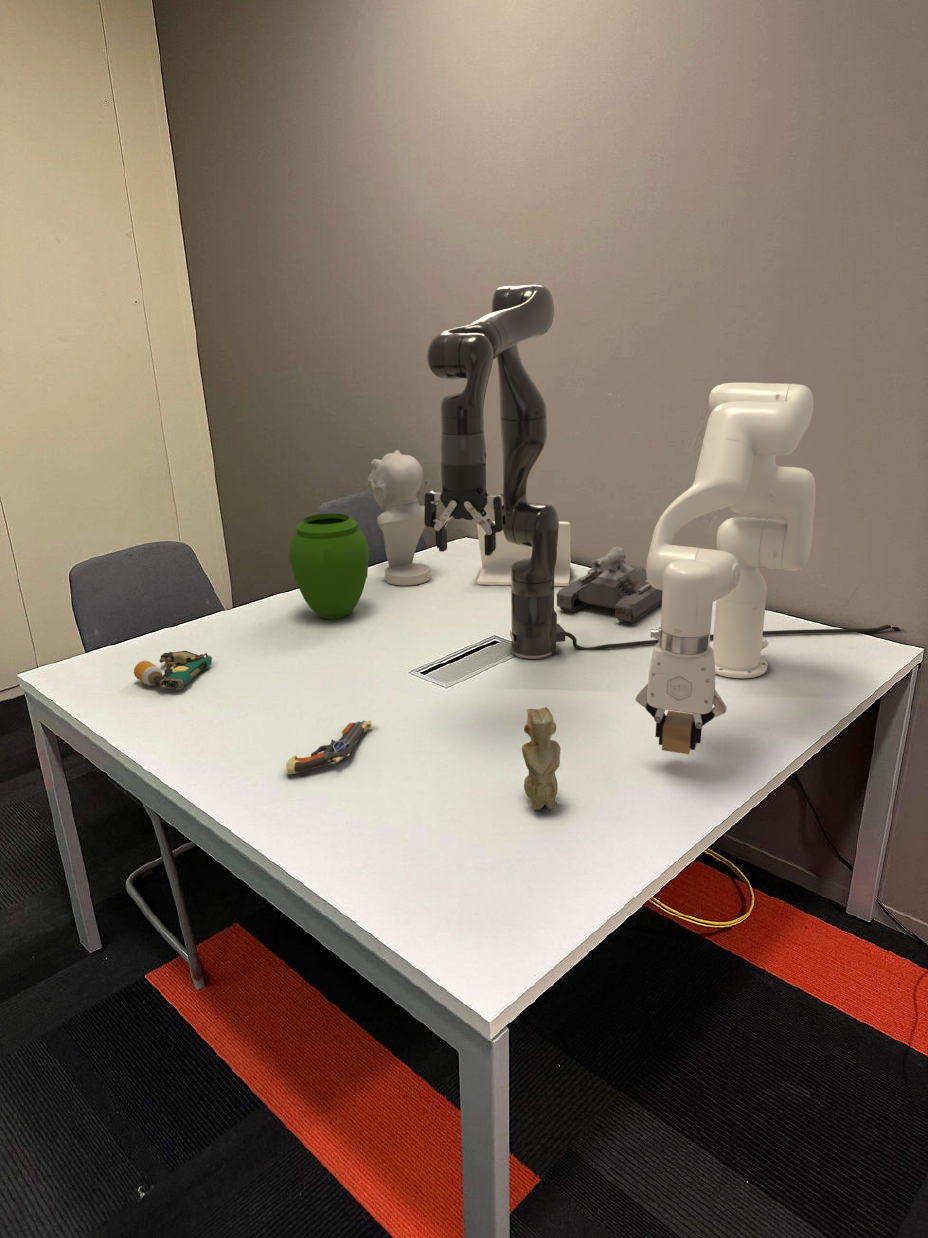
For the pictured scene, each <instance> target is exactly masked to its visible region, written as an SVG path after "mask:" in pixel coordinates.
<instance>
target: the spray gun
mask: <svg viewBox="0 0 928 1238" xmlns="http://www.w3.org/2000/svg"><path fill="white" fill-rule="evenodd" d="M212 660H213V657H212V656H211V655H208V653H207V652H205V653H201V654H197V653H194V652H192V651H191V652H190V651H188V650H180V651H169V652H164V653H162V654H161V655H160V658H159V660H158V662H159V663H161V664H163V663H165V664H166V668H165V670H163V672H164V674H163V673H162V669H160V668H159V666H157V665H156V664H154V663H152V662H151V661H149V660H141V661H139V662H138V663H136V665H135V666H134V668H133V675H134V677H135V678H136V679H137V680H139V681H140V682H142V683H143V684H145V685H147V686H155V685H157V686H158V687H160V688H161V689H171V690H172V689H173V690H182V689H184V687H185V686H186V685H188V684H189V683H190V682H191V681H192V679H193V678H195V677H196V676H197V675H198V674H200V673H201V672H202V671H203V670H206V669H208V668H209V667H210V666H211V665H212V662H213V661H212ZM178 663H179V664H181V665H179V666H176V665H177V664H178Z"/></svg>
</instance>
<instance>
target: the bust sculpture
mask: <svg viewBox="0 0 928 1238" xmlns="http://www.w3.org/2000/svg"><path fill="white" fill-rule="evenodd" d="M370 463H371V467H372V470H371V473H370V474H369V475H368V479H367V483H366V484H367V486H371V490H372V492H373V499H374V501H375V503H376V504H377V505H378V507H379V508H380V510H381V511H382V512H381V513H380V514H379V515H378V516H377V518H376V523H377V525H378V528H379V529H380V531H381V532H382V534H383V535H382V536H383V542H384V550H385V554H386V559H387V564H388V566H387V567H386V568H385V569H384V579H385V582H387V583H388V584H391V585H394V586H395V585H396V586H416V585H420V584H424V583H426V582H428V581H430V580H431V577H432V576H431V566H429V565H427V564H425V563H421V562H420V563H419V562H414V557H415V555H416V554H415V553H416V550H417V546H418V544H419V541H420V538H421V536H422V533H423V531H424V530H425V528H426V526H425V524H424V515H425V505H420V503H419V500H418V497H417V493H418V492H419V490H420V489H421V486H422V482H423V479H424V471H423V467H422V465H421V463H420V462H419V461H418V460H417V459H416V458H415V457H414V456H412V455H409V454H402V453H401V451H400V450H398V449H397V450H394V452H392V453H390V452H389V453H386V454H385V455H383V457H382V458H381V459H376V458H373V459H372V460H371V462H370Z"/></svg>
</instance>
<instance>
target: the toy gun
mask: <svg viewBox="0 0 928 1238" xmlns="http://www.w3.org/2000/svg"><path fill="white" fill-rule="evenodd" d="M372 726H373V723H372V721H371V720H362V721H359V720H357V722H349V723H348V724H347V725H346V726H345V728H344V729H343V730H342V731H341V734H342V736H341V737H340V738H339V739H338V740H335V739H331V740H330V743H329V744H323V745H320V746H319V747H317V749H316V750H314V751H313V752H312V753H311V754H310V756H307V757H298V756H297V754H295V755H293V756H292V757H290V758H289V759H288V760H287V762H286V766H285V767H286V771H287V774H288V775H295V774H299V773H303V772H307V771H309V770H313V769H317V768H320V767H324V766H326V765H330V764H331V763H336V764H337V763H339V762H340V761H342V760H344V758H346V757H349V756H350V755H351V753H352V752H353V751H354V749H355V748H356V747H357V746H356V745H357V742H358V741H359V740H360V738H361V737H362V736H363V734H364V733H366V732H367V730H369V729H370V728H372Z"/></svg>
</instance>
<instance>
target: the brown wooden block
mask: <svg viewBox="0 0 928 1238" xmlns="http://www.w3.org/2000/svg"><path fill="white" fill-rule="evenodd" d="M693 722H694V716H693V713H686V712H679V711H672V710H667V713H666V718H665V721H664V724H663V738H662V745H661V751H665V752H671V753H678V754H685V755H690V753H691V751H692V750H691V749H690V746H691V732H692V726H693Z"/></svg>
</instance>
